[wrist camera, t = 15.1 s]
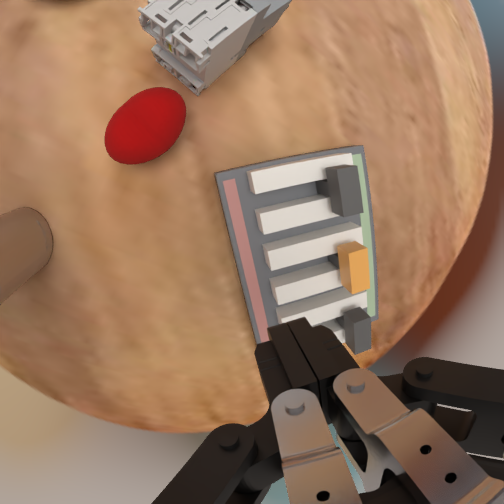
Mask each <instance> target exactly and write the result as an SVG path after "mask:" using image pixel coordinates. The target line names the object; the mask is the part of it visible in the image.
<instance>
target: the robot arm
mask: <svg viewBox="0 0 504 504" xmlns="http://www.w3.org/2000/svg"><path fill="white" fill-rule="evenodd" d="M52 247H53V241H52V234H51V230H50V228H49V226H48V224H47V222H46V220H45V219H44V218H43V217H42V215H41V214H40V213H38V212H37V211H35V210H33V209H31V208H25V207H24V208H19V209H16V210H13V211H11V212H8V213H5V214H3V215H0V305H1V304H2V303H3V302H4V301H5V300H6V299H7V298H8V297H9V296H10V295H12V294H13V293H14V292H15V291H16V290H17V289H18V288H19V287H20V286H22V285H23V284H24V283H25V282H26V281H27V280H28V279H30V278H31V277H32V276H33V275H34V274H36V273H37V272H38V271H39V270H40V269H41V268H43V267H44V266H45V265H46V264H47V262H48V261H49V259H50V256H51V253H52ZM267 332H268V337H269V341H266V342H262V343H259V344H257V347H256V350H255V353H254V354H255V357H256V361H257V365H258V368H259V372H260V376H261V379H262V383H263V386H264V389H265V392H266V395H267V398H268V401H269V404H270V405H269V409H268V411H267V413H266V414H265V415H264V416H263V417H262V418H261V419H260V420H259V421H257V422H255V423H254V424H252V425H250V426H248V427H246V426H244V425H242V424H235V423H232V424H225V425H222V426H220V427H218V428H216V429H214V430H213V431H212V432H211V433H210V434H209V435H208V436H207V438H206V439H205V440H204V442H203V443H202V444H201V445H200V447H199V448H198V449H197V450H196V452H195V453H194V454H193V455H192V457H191V458H190V459H189V460H188V462H187V463H186V464H185V465H184V466H183V468H182V469H181V470H180V471H179V472H178V473H177V475H176V476H175V477H174V478H173V480H172V481H171V482H170V483H169V484H168V485H167V486H166V488H165V489H164V490H163V491H162V492H161V493H160V494H159V496H158V497H157V498H156V499H155V500H154V501H153V502H152V504H261V502H262V500H263V499H264V497H265V496H266V494H267V492H268V491H269V489H270V486H271V484H272V483H274V482H276V481H277V480H279V479H280V478H282V477H284V478H285V483H286V487H287V492H288V497H289V501H290V504H504V461H502V460H497V459H491V458H486V457H481V456H476V455H471V454H467V453H466V452H469V453H474V454H480V455H486V456H493V457H500V458H504V370H501V369H494V368H488V367H481V366H475V365H468V364H462V363H456V362H451V361H445V360H440V359H434V358H429V357H421V358H416V359H414V360H412V361H410V362H409V363H407V365H406V366H405V367H404V370H403V373H401V374H396V375H390V376H376V375H375V374H374V373H373V372H371V371H369V370H367V369H362V368H360V367H359V366H358V364H357V363H356V362H355V360H354V359H353V358H352V356H351V355H350V354H349V352H348V351H347V350H346V348H345V347H344V346H343V345H342V343H341V342H340V340H339V339H337V337H336V335H335V334H334V333H333V331H332V330H331V329H329V328H327V327H325V326H323V325H318V326H315V327H312V326H311V325H310V323H309V322H308V320H307V319H306V317H301V318H298V319H295V320H292V321H288V322H286V323H282V324H278V325H275V326H271V327H268V328H267ZM437 403H438V404H442V405H447V406H452V407H457V408H463V409H468V410H472V411H468V412H466V411H461V410H456V409H450V408H445V407H441V406H437ZM331 423H332V424H333V426H334V427H335V429H336V439H337V441H338V443H339V444H340V446H341V447H342V449H343V451H344V452H345V454H346V455H347V457H348V458H349V460H350V461H351V463H352V465H353V466H354V467H355V469H356V471H357V472H358V474H359V475H360V477H361V479H362V481H363V485H364V489H365V491H366V493H360V494H358V491H357V489H356V486H355V484H354V481H353V479H352V476H351V473H350V471H349V468H348V466H347V463H346V461H345V458H344V456H343V453H342V451H341V449H340V448H339V447H336V445H335V443H334V441H333V438H332V435H331V433H330V430H329V427H328V424H331Z"/></svg>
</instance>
